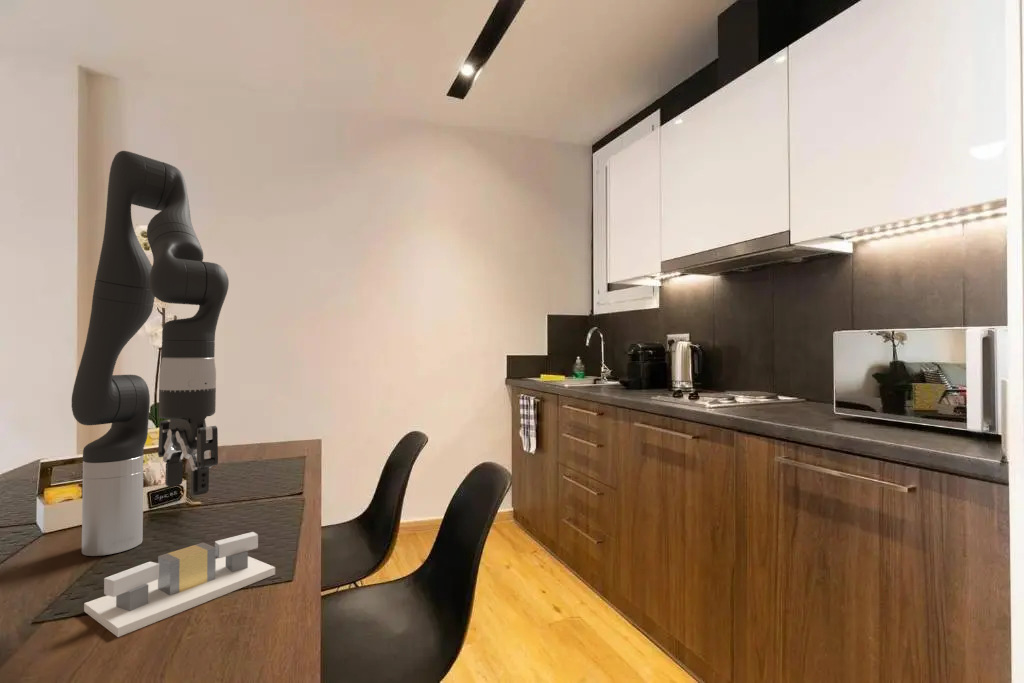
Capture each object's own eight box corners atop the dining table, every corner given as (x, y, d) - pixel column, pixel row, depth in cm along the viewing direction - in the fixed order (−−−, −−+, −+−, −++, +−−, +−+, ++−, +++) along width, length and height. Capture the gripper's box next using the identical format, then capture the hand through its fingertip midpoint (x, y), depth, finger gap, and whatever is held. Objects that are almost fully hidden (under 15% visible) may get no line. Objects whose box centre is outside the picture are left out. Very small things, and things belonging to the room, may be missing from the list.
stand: (84, 611, 72) (84, 569, 73) (237, 558, 91) (237, 524, 91) (117, 637, 66) (118, 590, 66) (275, 574, 84) (275, 538, 84)
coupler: (157, 588, 77) (158, 556, 77) (202, 572, 82) (203, 542, 82) (170, 595, 75) (170, 562, 75) (215, 578, 80) (215, 547, 80)
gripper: (236, 387, 78) (234, 491, 78) (192, 383, 86) (190, 477, 86) (183, 390, 72) (181, 503, 72) (141, 385, 80) (139, 487, 79)
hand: (186, 489), depth 79 cm, fingers open, 8 cm apart
